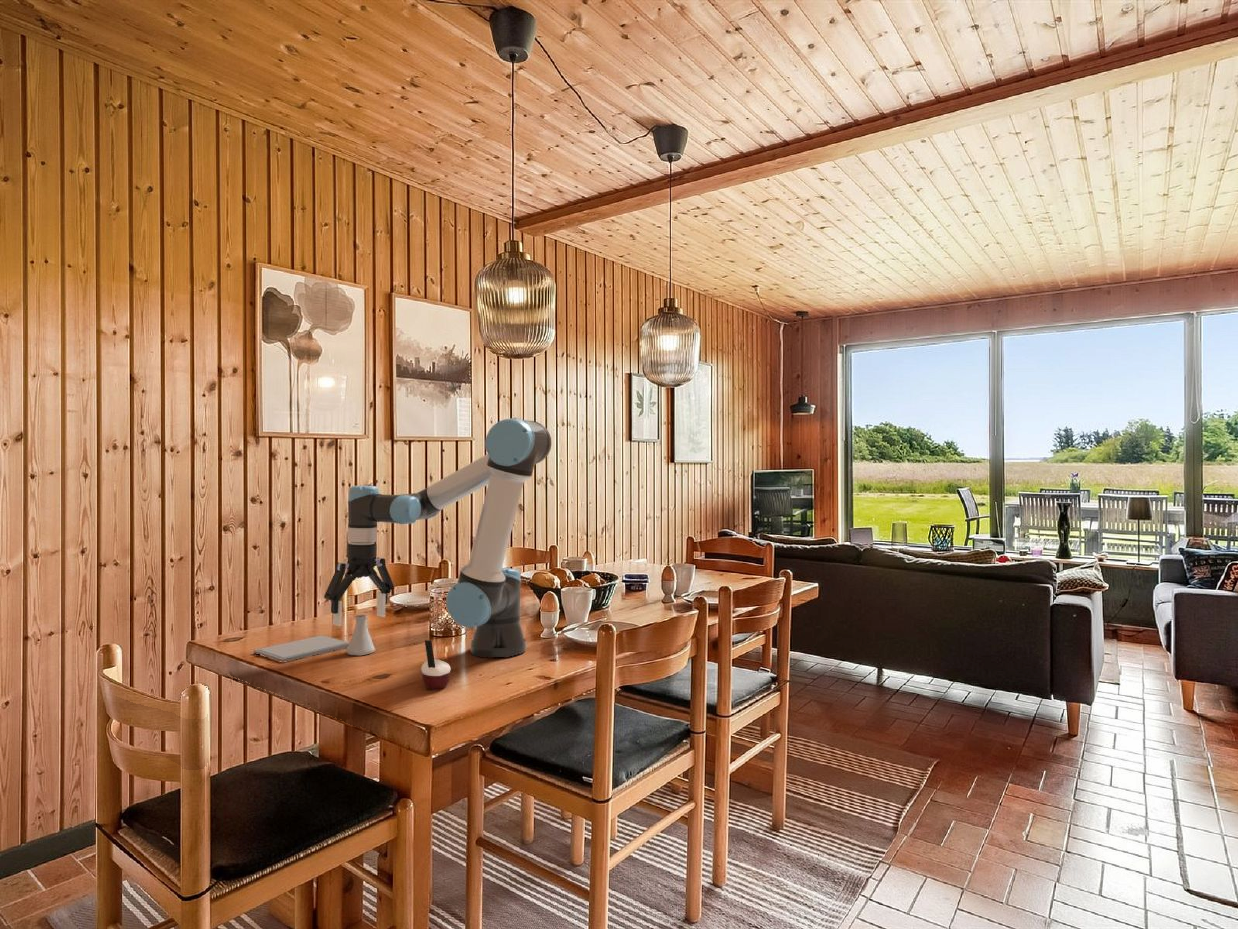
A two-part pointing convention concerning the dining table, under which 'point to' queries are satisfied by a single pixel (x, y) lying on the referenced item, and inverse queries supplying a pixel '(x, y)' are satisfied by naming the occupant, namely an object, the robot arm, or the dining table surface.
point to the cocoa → (434, 670)
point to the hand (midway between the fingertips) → (359, 620)
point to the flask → (360, 638)
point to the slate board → (302, 648)
